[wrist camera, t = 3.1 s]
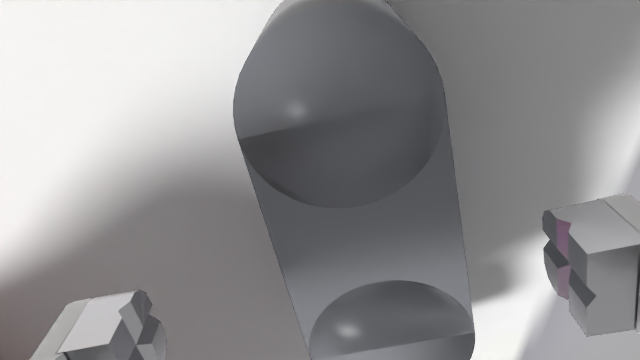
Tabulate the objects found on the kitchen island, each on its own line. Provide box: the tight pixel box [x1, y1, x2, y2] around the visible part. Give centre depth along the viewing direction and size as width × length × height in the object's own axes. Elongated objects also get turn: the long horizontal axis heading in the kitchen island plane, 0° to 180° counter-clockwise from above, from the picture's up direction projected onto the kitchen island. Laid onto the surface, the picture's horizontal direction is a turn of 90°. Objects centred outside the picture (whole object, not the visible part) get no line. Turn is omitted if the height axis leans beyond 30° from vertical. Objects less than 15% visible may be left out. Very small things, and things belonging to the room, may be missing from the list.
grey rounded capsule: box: [233, 0, 475, 360], centre depth 13 cm, size 4×12×4 cm, turn 13°
